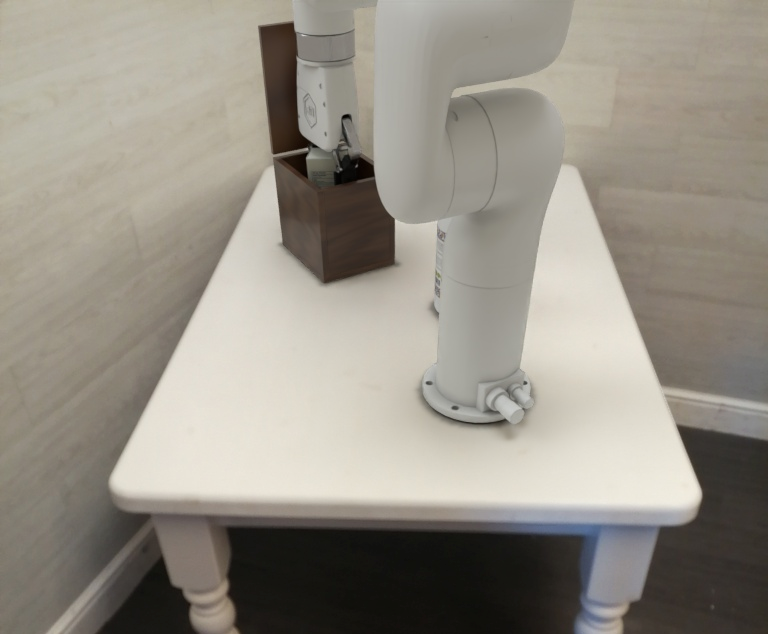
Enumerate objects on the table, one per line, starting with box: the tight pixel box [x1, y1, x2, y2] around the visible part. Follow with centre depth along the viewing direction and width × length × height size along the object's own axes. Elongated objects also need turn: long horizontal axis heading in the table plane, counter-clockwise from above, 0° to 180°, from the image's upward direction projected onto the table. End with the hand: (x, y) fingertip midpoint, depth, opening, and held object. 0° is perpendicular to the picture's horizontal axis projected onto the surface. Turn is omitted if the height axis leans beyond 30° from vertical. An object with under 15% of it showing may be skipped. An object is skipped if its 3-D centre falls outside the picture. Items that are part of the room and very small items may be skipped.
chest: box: [272, 142, 396, 284], centre depth 106 cm, size 15×12×13 cm
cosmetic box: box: [306, 148, 347, 189], centre depth 104 cm, size 6×4×12 cm
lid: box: [257, 20, 308, 156], centre depth 101 cm, size 16×12×5 cm
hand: (333, 189), depth 103 cm, fingers closed on cosmetic box, 6 cm apart
